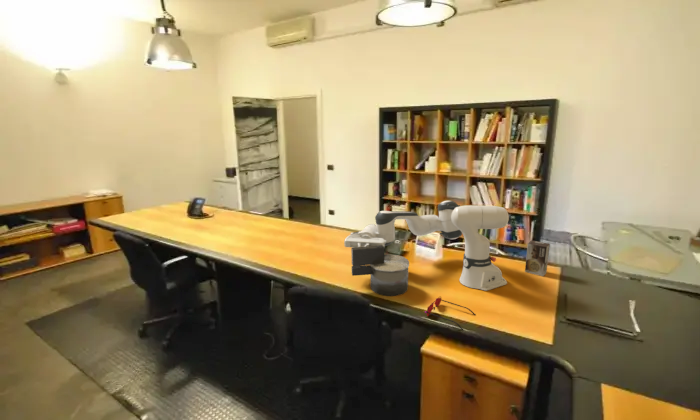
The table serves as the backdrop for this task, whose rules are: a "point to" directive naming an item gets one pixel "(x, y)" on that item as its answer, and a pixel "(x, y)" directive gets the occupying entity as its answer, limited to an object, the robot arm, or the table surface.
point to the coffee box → (537, 257)
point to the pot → (384, 280)
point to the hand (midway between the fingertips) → (361, 248)
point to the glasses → (438, 305)
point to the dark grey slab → (378, 259)
